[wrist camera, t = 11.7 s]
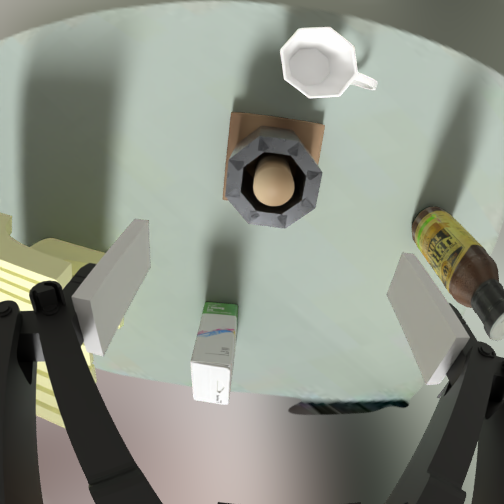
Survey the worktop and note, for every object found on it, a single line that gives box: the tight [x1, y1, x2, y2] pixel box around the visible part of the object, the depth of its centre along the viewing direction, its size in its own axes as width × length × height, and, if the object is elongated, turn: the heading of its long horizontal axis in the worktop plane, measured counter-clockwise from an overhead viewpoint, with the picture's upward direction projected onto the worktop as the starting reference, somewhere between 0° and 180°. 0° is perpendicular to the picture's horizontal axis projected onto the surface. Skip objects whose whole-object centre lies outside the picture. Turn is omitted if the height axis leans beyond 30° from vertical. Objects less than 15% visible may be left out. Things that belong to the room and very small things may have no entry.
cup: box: [280, 27, 378, 98], centre depth 27 cm, size 7×10×8 cm
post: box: [223, 112, 325, 206], centre depth 31 cm, size 10×10×10 cm
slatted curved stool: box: [0, 213, 124, 428], centre depth 38 cm, size 30×16×18 cm, turn 166°
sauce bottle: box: [412, 206, 504, 341], centre depth 30 cm, size 6×6×20 cm
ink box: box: [191, 302, 238, 404], centre depth 43 cm, size 8×5×12 cm, turn 176°
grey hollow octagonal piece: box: [225, 125, 322, 228], centre depth 31 cm, size 8×8×8 cm
